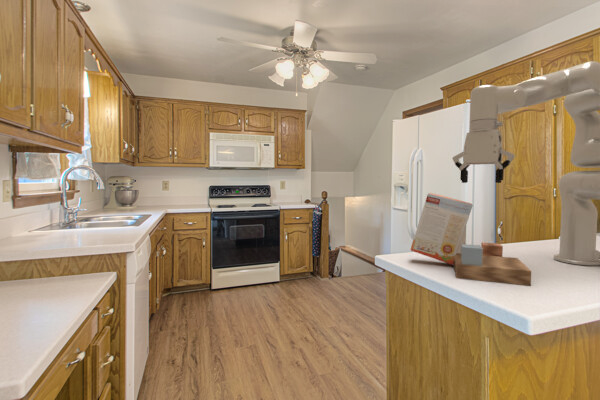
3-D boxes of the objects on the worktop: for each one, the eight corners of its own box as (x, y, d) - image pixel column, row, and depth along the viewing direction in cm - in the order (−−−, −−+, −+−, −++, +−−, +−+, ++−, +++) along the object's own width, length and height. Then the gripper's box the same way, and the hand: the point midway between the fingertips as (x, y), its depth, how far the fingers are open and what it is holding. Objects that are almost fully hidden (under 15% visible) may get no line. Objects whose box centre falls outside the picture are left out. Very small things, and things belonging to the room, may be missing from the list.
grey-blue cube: (479, 262, 94) (480, 245, 94) (481, 266, 90) (482, 248, 90) (460, 260, 96) (461, 244, 96) (462, 264, 92) (462, 247, 92)
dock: (516, 270, 100) (517, 258, 100) (530, 285, 85) (531, 271, 85) (453, 264, 107) (453, 252, 107) (456, 277, 92) (456, 264, 92)
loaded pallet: (506, 263, 109) (507, 243, 109) (510, 267, 104) (510, 247, 103) (473, 260, 113) (474, 241, 113) (475, 264, 108) (476, 244, 107)
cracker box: (453, 261, 109) (473, 203, 105) (452, 265, 103) (473, 204, 100) (412, 247, 115) (429, 192, 111) (409, 250, 109) (428, 192, 106)
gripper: (519, 125, 94) (516, 183, 95) (458, 132, 107) (456, 182, 108) (512, 122, 89) (509, 182, 90) (449, 129, 102) (447, 182, 103)
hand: (480, 182), depth 99 cm, fingers open, 9 cm apart
